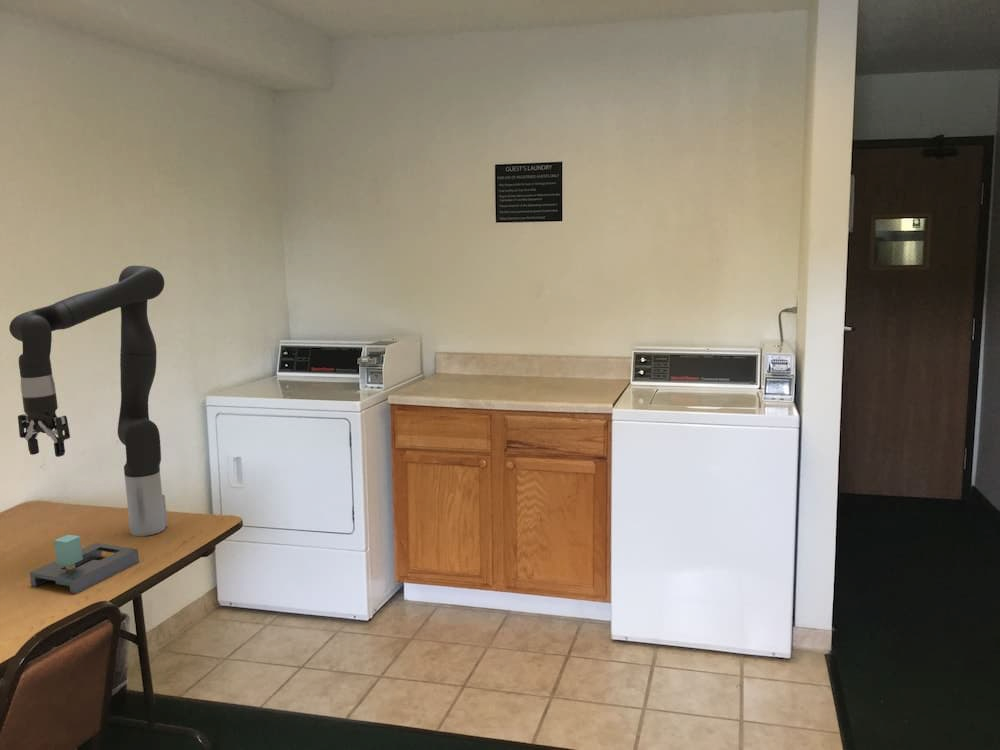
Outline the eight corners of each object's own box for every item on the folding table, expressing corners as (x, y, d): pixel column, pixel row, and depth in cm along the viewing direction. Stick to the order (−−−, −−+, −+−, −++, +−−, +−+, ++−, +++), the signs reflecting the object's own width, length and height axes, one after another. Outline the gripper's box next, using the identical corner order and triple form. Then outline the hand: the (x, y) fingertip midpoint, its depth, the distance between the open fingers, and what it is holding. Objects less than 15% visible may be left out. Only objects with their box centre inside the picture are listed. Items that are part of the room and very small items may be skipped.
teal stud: (72, 575, 204) (68, 533, 202) (88, 578, 203) (83, 535, 201) (55, 583, 200) (50, 540, 198) (71, 586, 198) (66, 543, 196)
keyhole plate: (97, 555, 217) (96, 542, 216) (139, 561, 212) (137, 549, 212) (31, 586, 199) (29, 572, 198) (75, 594, 194) (73, 580, 193)
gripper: (72, 391, 208) (80, 452, 211) (30, 389, 213) (38, 449, 216) (48, 397, 201) (56, 461, 204) (4, 395, 206) (13, 457, 209)
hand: (47, 454), depth 210 cm, fingers open, 8 cm apart
